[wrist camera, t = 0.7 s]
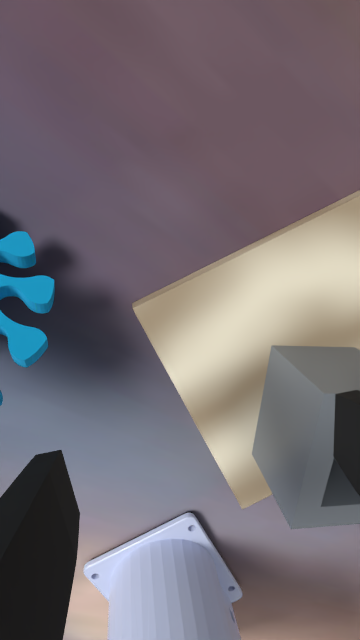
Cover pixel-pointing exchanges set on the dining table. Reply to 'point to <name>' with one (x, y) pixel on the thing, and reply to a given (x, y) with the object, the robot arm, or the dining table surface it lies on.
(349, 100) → the dining table surface
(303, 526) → the grey hollow rectangular block
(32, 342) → the blue cross piece
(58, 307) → the dining table surface
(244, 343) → the shaft board
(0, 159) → the dining table surface
